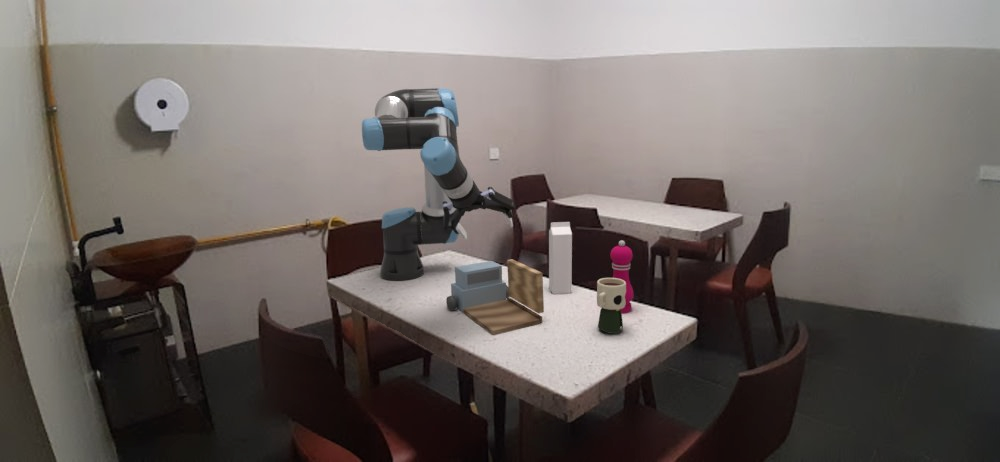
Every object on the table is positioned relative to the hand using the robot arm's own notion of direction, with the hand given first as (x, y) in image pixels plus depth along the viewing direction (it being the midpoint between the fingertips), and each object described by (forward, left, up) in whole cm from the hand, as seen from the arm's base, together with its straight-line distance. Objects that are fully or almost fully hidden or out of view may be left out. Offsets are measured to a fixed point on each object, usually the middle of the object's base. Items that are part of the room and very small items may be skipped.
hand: (488, 229), depth 143 cm
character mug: (+31, +19, -23) cm, 43 cm away
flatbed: (+9, -1, -23) cm, 25 cm away
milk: (-1, +26, -23) cm, 35 cm away
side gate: (+9, +7, -21) cm, 24 cm away
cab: (-4, -1, -23) cm, 23 cm away
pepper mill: (+21, +31, -23) cm, 44 cm away
